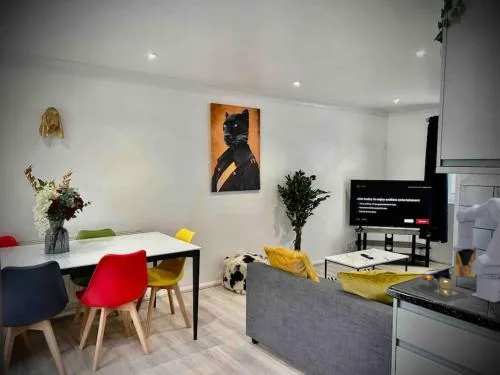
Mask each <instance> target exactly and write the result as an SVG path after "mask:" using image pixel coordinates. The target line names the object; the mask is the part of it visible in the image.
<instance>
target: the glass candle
mask: <svg viewBox="0 0 500 375" xmlns="http://www.w3.org/2000/svg"><path fill="white" fill-rule="evenodd" d="M453 282H454V281H453V280H452V279H450V278H439V279H438V284H439V291H440V292H441V293H446V294H451V293H452V289H453Z"/></svg>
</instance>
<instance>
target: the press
mask: <svg viewBox="0 0 500 375" xmlns="http://www.w3.org/2000/svg"><path fill="white" fill-rule="evenodd" d="M411 286H412V287H411V289H412V290H414V291H416V292H417V291H418V292H419V293H422V294H425V295H427V296H431V297H434V298H436V299H438V298H439V300H441V299H442V301H443V302H444V301H445V302H449V301H453V300H458V299H463V298H466V297H468V293H467V292H464V291H460V290H457V289H455V288H452V293H451V294H446V293H441V292H440V291H439V279H437V278H435V277H434V279H433V280H428V279H424V278H423V276H421V277H418V284H417V285H411Z"/></svg>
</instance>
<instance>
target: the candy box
mask: <svg viewBox="0 0 500 375" xmlns="http://www.w3.org/2000/svg"><path fill="white" fill-rule="evenodd" d="M454 246H456V244H454ZM454 246H453V247H454ZM471 250H474V253H473V255H472V256H471V258H470V261H469V264H468V266H464V265H462V263H461V259H460V256H459V254H458V252H456V251H453V275H454V276H455V277H465V278H466V277H469V278H475V277H476V275H475V273H474V272H473V269H472V264H473V262H474V261H475V260H476V259H477V257H476V254H477V249H475V248H474V249H471Z"/></svg>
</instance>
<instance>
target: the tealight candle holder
mask: <svg viewBox="0 0 500 375" xmlns="http://www.w3.org/2000/svg"><path fill="white" fill-rule="evenodd" d="M422 277H423V278H424V279H428V280H433V279H434V278H435V277H434V275H432V274H423V275H422Z"/></svg>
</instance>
